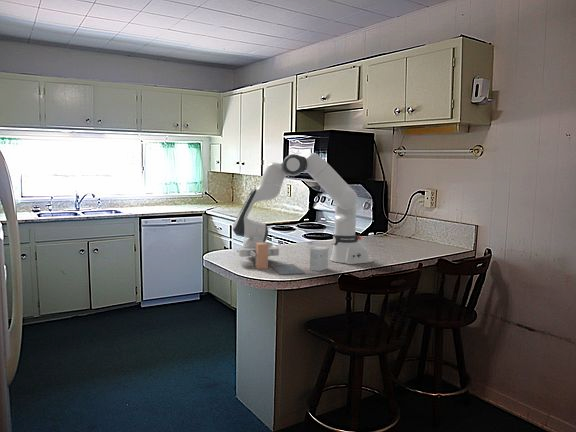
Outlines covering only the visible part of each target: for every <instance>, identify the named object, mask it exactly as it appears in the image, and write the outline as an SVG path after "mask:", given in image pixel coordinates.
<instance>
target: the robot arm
mask: <svg viewBox="0 0 576 432" xmlns="http://www.w3.org/2000/svg"><path fill="white" fill-rule="evenodd" d="M301 173H307V174H308V175H310V177H311V178H312V179H313V180H314V181H315V182H316V183H317V185H319V187H321V189H323V191H324V192H325V193H326V194H327V195H328V197H330V199H332V201H333V202H334V231H333V232H334V233H333V234H332V235H333V236H332V244H333V246H332V252H331V255H330V259H329V260H330V261H331V262H335V263H340V264H347V265H355V264H356V265H357V264H366V263H368V264H369V263H372V262H373V259H372V257H369V251H368V249H367V248H366V247H365V246H364V245H363V244H362V243H360V242H359V241H361V240H362V238H363V237H362V236H361V235H357V234H356V225H357V224H356V223H357V217H356V215H357V214H356V212H357V203H358V199H359V198H358V194H357V192H355V190H354V189H353V188H352V187H351V186H350V185H349V183H347V182H346V181H345V180H344V179H343V178H342V176H340V174H338V172H337V171H336V170H335V169H334V168H333V167H332V166H331V165H330V164H329V163H328V162H327V161H326V160H325V159H324V158H323V157H322V156H320V155H319V154H317V153H315V152H311V153H308V154H307V155H306V156H302V155H299V154H295V153H294V154H293V153H292V154H289V155H287V156H285V158H284V159H283V161H282V162H281V163H279V162H270V163H268V164H267V167H266V168H265V170H264V172H263V175H262V176H261V181H260V182H259V185H258V186H257V187H255V188H253V189H252V190H251V191H250V193H249V194H248V196H247V197H246V200H245V202H244V204H243V206H242V207H241V209H240V212H239V214H237V215H238V216H237V217H236V219H235V220H234V222H233V225H232V231H233V233H234V234H235V235H236V236H238V237H243V238H244V237H245V239H243V242H242V246H241V247H239V248H238V249H236V252H237V253H238V257H241V258H244V257H246V258H247V257H250V258H253V259H256V257H257V252H256V243H260V242H266V241H267V239H268V235H269V228H268V226H267V224H266V222H262V221H258V220H254V219H251V218H248V217H249V215H250V212H251V211H252V208H253V206H254V205H255V204H256V203H258V202H265V201H270V200H271V201H272V200H274V199H276V198H277V197H278V196H279V194H280V192H281V189H282V186H283V183H284V179H285V178H286V177H289V176H290V177H295V176H299V175H300V174H301ZM266 243H267V244H268V257H270V256H271V257H273V256H275V257H276V256H279V255H280V249H279V247H278V246H277V245H274V244H273V242H268V241H267V242H266Z"/></svg>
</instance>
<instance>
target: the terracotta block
mask: <svg viewBox="0 0 576 432" xmlns="http://www.w3.org/2000/svg"><path fill="white" fill-rule="evenodd" d="M256 252H257V257H256V258H255V261H254V262H255V268H256V269H258V270H259V269H261V270H262V269H268V268H269V267H268V266H269V256H268V244H267V243H266V241H265V242H260V243H256Z"/></svg>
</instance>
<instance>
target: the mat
mask: <svg viewBox="0 0 576 432" xmlns="http://www.w3.org/2000/svg"><path fill="white" fill-rule="evenodd" d="M269 266H270V268H271V269H273V270H274V271H275V272H276V273H277V274H279V275H280V276H286V275H287V276H288V275H291V276H292V275H305V274H306V273H305V272H304V271H303V270H302V269H300V268H299V267H298V266H296V264H294V263H289V264H288V263H287V264H285V263H284V264H282V263H281V264H270V265H269Z"/></svg>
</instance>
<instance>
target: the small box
mask: <svg viewBox="0 0 576 432" xmlns="http://www.w3.org/2000/svg"><path fill="white" fill-rule="evenodd" d="M309 250H310V252H309V253H310V254H309V270H311V271H316V272H320V271H324V270H327V269H328V268H329V247H325V246H317V247H312V248H310V249H309Z"/></svg>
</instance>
